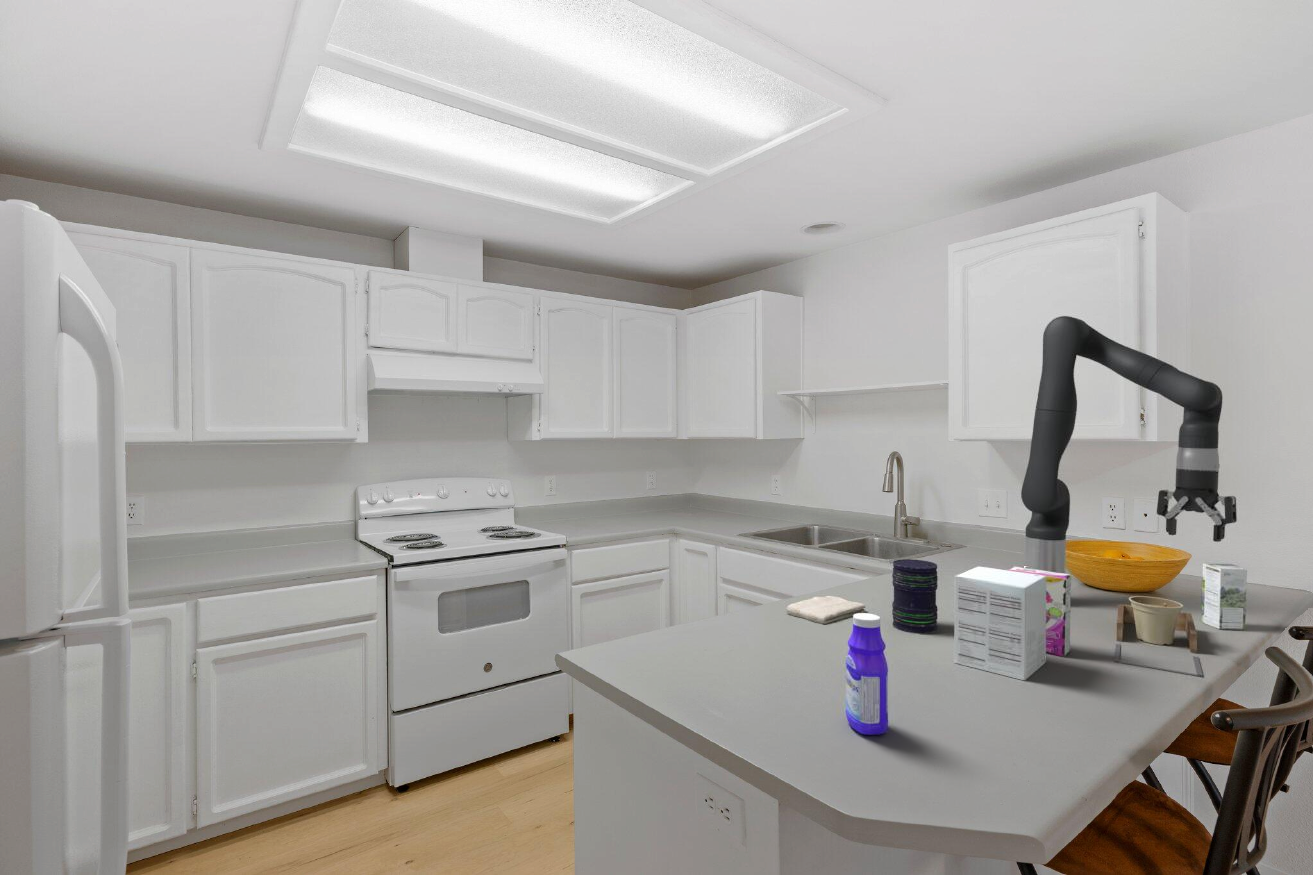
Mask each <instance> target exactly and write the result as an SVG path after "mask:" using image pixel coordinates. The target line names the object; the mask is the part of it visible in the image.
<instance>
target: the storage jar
mask: <svg viewBox="0 0 1313 875" xmlns="http://www.w3.org/2000/svg"><path fill="white" fill-rule="evenodd" d="M892 566H893V567H892V573H891V574H892V576H891V577H892V582H891V583H892V587H893V601H892V604H891V608H892V609H891V615H892V627H893V628H895V629H896V630H898V631H901V632H905V633H910V634H916V635H917V634H918V635H919V634H920V635H921V634H922V635H923V634H924V635H927V634H932V633H933V634H934V633H936V632H937V630H938V627H937V623H938V621H937V620H938V610H939V608H938V605H937V590H938V586H939V585H938V580H939V579H938V571H937V569H938V564H937V563H935V562H932V561H928V560H921V559H905V558H904V559H896V560H893V561H892Z"/></svg>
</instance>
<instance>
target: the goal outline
mask: <svg viewBox="0 0 1313 875" xmlns="http://www.w3.org/2000/svg"><path fill="white" fill-rule="evenodd" d="M1120 655H1121V644H1120V643H1115V650H1114V658H1113V662H1115V663H1119V664H1123V665H1124V664H1125V665H1131V666H1137V667H1142V668H1147V669H1154V670H1158V671H1165V672H1171V673H1176V674H1182V675H1188V676H1191V677H1192V676H1193V677H1200V678H1204V674H1203V671H1202V667H1201V664H1200V663H1201V662H1200V658H1199V656H1196V655H1193V656H1192V658H1193V662H1194V666H1195V671H1196V673H1191V672H1187V671H1181V670H1174V669H1170V668H1169V669H1168V668H1165V667H1163V668H1162V667H1159V666H1158V667H1157V666H1153V665H1152V666H1151V665H1147V664H1140V663H1136V662H1135V663H1134V662H1128V661H1124V660H1123V661H1122V660H1120V657H1121V656H1120Z"/></svg>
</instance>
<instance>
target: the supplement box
mask: <svg viewBox="0 0 1313 875" xmlns="http://www.w3.org/2000/svg"><path fill="white" fill-rule="evenodd" d="M1007 570H1008V569H1006V570H1005V569H999V568H994V567H993V568H992V567H986V566H980V565H978V566H976V567H974V568H972V569H969V570H967V571H964V572H961V573H959V574H956V575H954V631H953V632H954V633H953V635H954V637H953V638H954V641H953V642H954V643H953V644H954V645H953V646H954V647H953V648H954V655H953V661H954V663H955V664H957V665H962V666H965V667H971V668H974V669H978V670H981V671H986V672H990V673H993V674H997V675H1001V676H1005V677H1008V678H1013V679H1015V680H1016V679H1017V680H1021V681H1026V680H1028V679H1029V677H1031V676H1032V675H1033V674H1034V673H1035V672H1037V671H1038V670H1039V669H1040V668H1041V667H1042V666H1044V665H1045V663H1046V661H1047V660H1046V659H1047V658H1046V656H1047V653H1046V576H1042V575H1036V574H1029V573H1022V572H1015V571H1007Z"/></svg>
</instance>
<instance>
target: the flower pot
mask: <svg viewBox="0 0 1313 875" xmlns="http://www.w3.org/2000/svg"><path fill="white" fill-rule="evenodd" d="M1128 601H1130V604H1131V606H1132V607H1133V611H1134V618H1135V630H1136V632H1135V633H1136V638H1137V639H1138V640H1142V641H1143V642H1145V643H1147V644H1154V645H1158V646H1161V645H1165V644H1166V645H1168V646H1169V645H1172V644H1173V642H1174V638H1175V633H1176V632H1175V631H1176V630H1175V628H1176V623H1177V618H1178V614H1180V612H1182V611H1181V610H1182V608H1184V605H1183V604H1182V603H1181V602H1178V601H1175V600H1171V599H1166V598H1163V597H1157V596H1156V597H1154V596H1142V595H1136V596H1130V597H1128Z"/></svg>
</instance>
